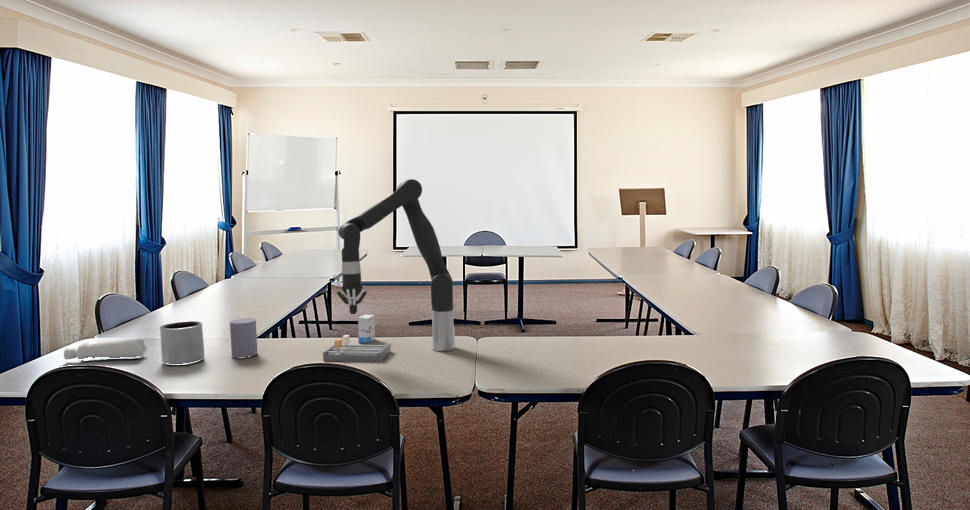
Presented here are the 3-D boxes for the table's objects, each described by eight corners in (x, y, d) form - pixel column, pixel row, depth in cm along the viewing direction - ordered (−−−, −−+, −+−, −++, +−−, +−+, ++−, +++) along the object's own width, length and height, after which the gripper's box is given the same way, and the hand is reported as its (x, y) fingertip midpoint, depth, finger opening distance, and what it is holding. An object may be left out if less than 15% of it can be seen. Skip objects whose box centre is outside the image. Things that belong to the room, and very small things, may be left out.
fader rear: (349, 346, 275) (349, 334, 275) (347, 348, 272) (347, 336, 272) (345, 346, 275) (344, 334, 275) (343, 348, 272) (342, 336, 272)
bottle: (149, 347, 278) (73, 353, 273) (143, 332, 272) (66, 338, 267) (144, 363, 271) (66, 369, 266) (138, 348, 265) (58, 355, 260)
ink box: (368, 343, 291) (367, 318, 290) (358, 343, 292) (357, 317, 291) (375, 339, 300) (374, 314, 299) (365, 338, 301) (364, 314, 300)
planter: (213, 358, 270) (211, 321, 269) (184, 368, 255) (181, 330, 254) (183, 355, 276) (180, 319, 274) (152, 365, 260) (150, 327, 259)
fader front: (342, 350, 268) (341, 338, 268) (339, 352, 265) (339, 340, 265) (337, 350, 269) (337, 338, 268) (335, 352, 266) (334, 340, 265)
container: (262, 355, 274) (260, 320, 272) (238, 360, 267) (236, 324, 265) (250, 351, 281) (248, 317, 279) (227, 355, 274) (225, 321, 272)
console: (390, 351, 276) (390, 343, 276) (380, 361, 261) (380, 353, 260) (336, 350, 279) (336, 342, 279) (323, 360, 263) (322, 352, 263)
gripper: (369, 270, 265) (371, 311, 267) (338, 271, 267) (341, 312, 269) (364, 273, 258) (366, 315, 260) (332, 273, 259) (335, 315, 261)
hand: (353, 313), depth 264 cm, fingers closed
